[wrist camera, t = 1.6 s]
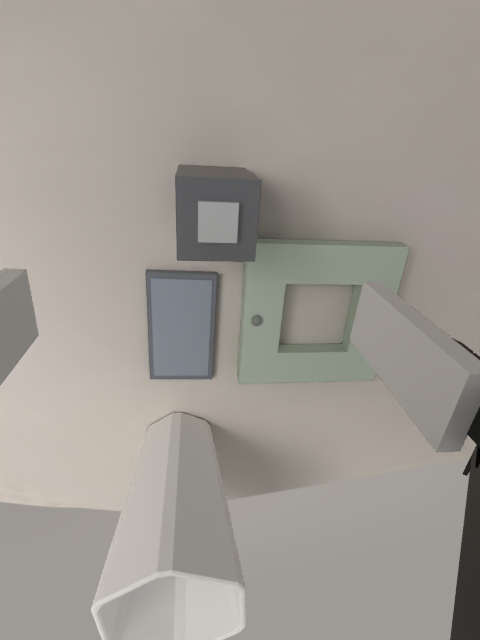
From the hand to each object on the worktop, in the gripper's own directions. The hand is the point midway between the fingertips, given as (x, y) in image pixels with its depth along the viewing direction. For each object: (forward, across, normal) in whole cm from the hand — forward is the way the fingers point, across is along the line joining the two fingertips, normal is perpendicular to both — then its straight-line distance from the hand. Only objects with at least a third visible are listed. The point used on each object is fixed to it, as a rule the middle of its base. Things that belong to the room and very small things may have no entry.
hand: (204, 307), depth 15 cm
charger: (+17, +1, +2) cm, 17 cm away
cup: (+18, -1, -24) cm, 30 cm away
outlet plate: (+17, +11, -8) cm, 22 cm away
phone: (+18, -1, -10) cm, 20 cm away
